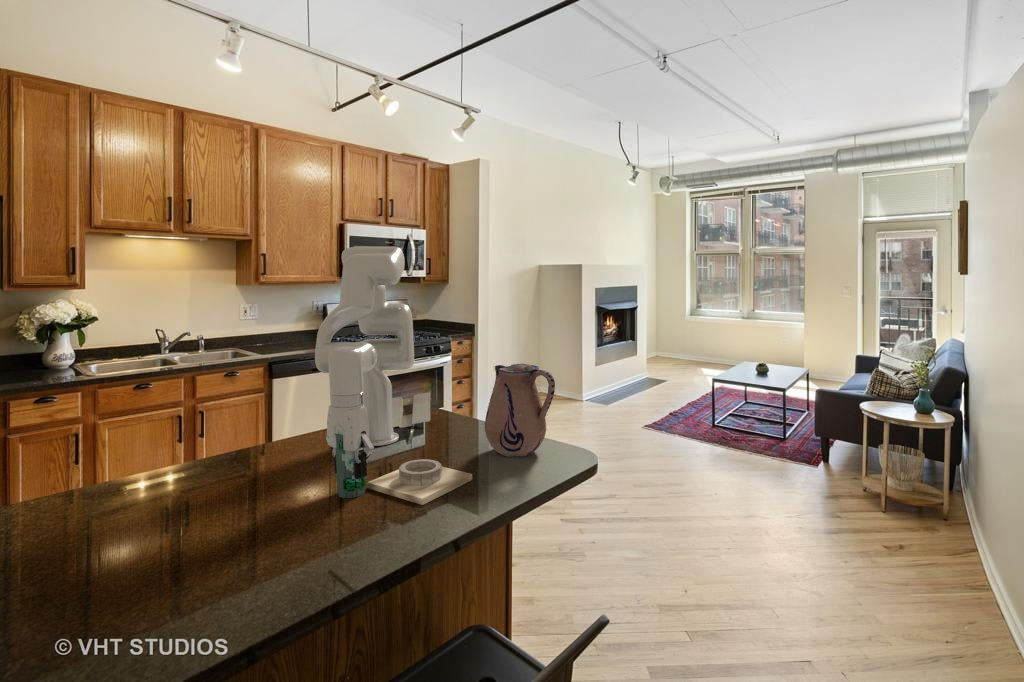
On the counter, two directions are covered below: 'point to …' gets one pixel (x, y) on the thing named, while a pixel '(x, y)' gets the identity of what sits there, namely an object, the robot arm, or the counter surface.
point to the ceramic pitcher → (517, 410)
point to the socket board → (420, 491)
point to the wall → (411, 410)
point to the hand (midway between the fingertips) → (350, 473)
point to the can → (347, 472)
